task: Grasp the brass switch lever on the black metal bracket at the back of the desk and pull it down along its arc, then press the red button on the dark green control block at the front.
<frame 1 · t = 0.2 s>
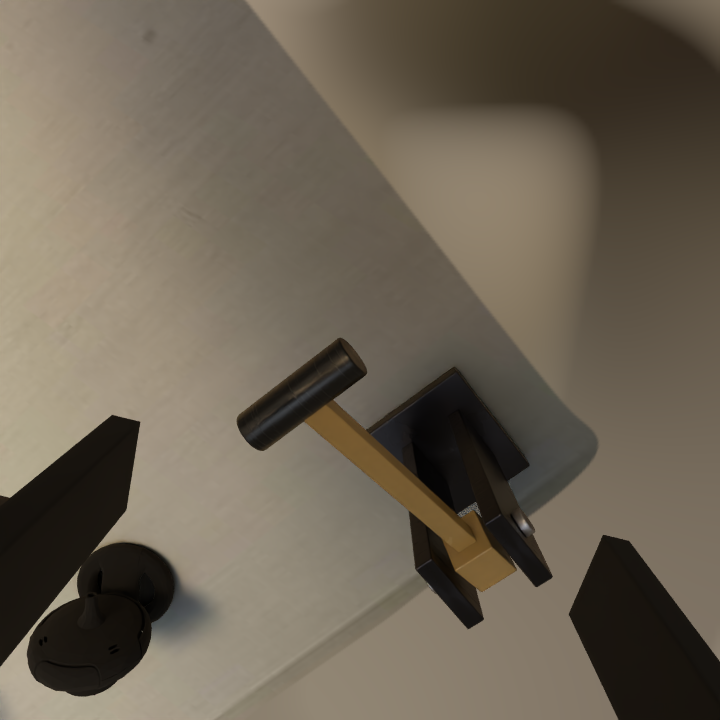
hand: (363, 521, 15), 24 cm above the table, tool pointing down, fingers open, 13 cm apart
webcam: (130, 579, 45), on the table
switch lever: (406, 488, 25), point 16 cm above the table, hinge at 22.0°
switch bracket: (445, 444, 41), on the table
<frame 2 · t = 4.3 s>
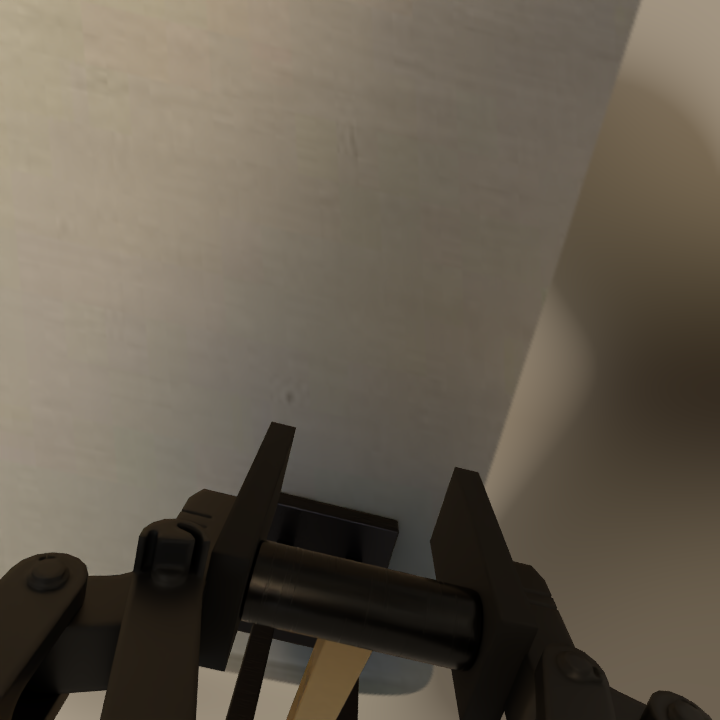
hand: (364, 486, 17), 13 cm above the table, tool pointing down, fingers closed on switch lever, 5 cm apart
switch bracket: (313, 569, 33), on the table
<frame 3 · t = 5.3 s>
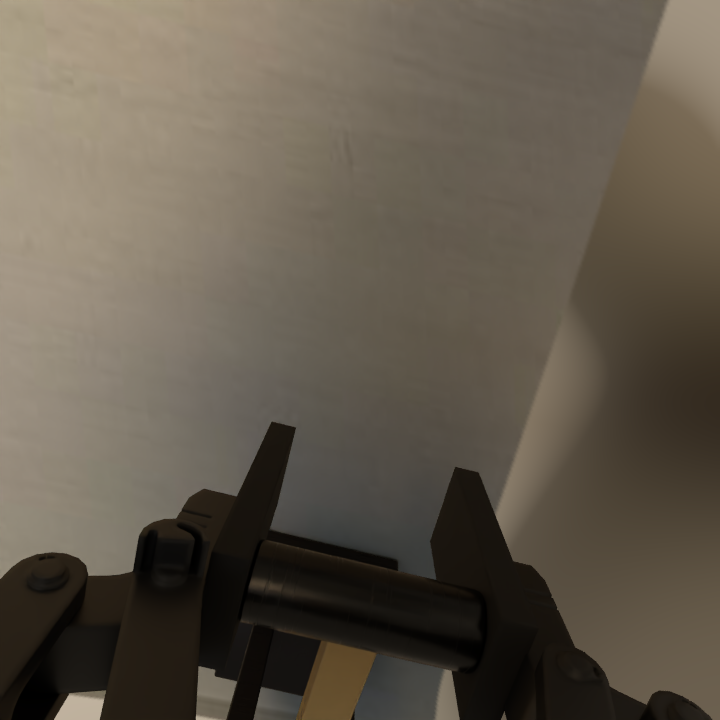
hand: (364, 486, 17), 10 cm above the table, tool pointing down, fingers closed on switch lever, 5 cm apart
switch bracket: (305, 611, 31), on the table
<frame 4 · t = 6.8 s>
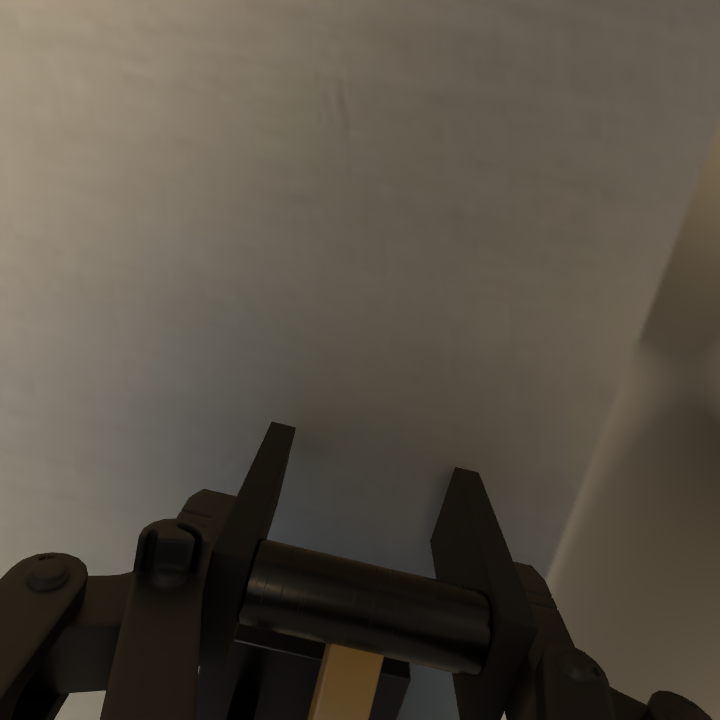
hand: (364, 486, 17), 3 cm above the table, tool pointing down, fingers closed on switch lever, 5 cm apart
switch bracket: (289, 717, 24), on the table
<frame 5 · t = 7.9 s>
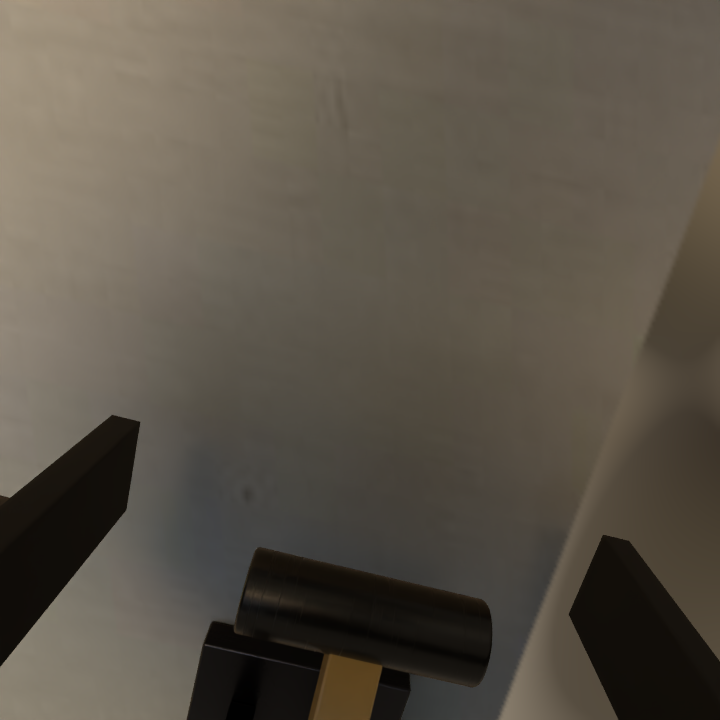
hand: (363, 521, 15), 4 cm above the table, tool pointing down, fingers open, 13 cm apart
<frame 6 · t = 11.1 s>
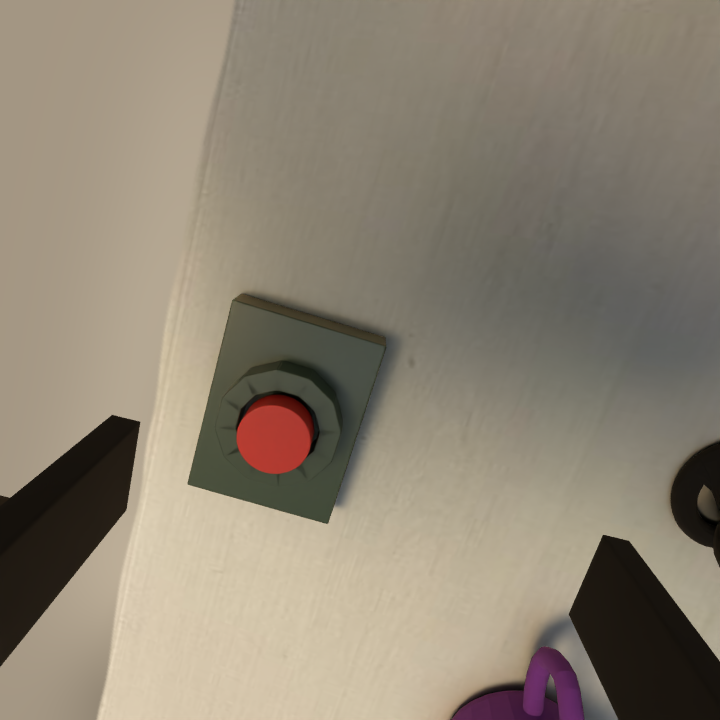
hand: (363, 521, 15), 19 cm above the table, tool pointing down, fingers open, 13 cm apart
mug: (515, 702, 41), on the table
red button: (276, 433, 31), point 4 cm above the table, slide at 0.1 cm
button block: (288, 405, 35), on the table
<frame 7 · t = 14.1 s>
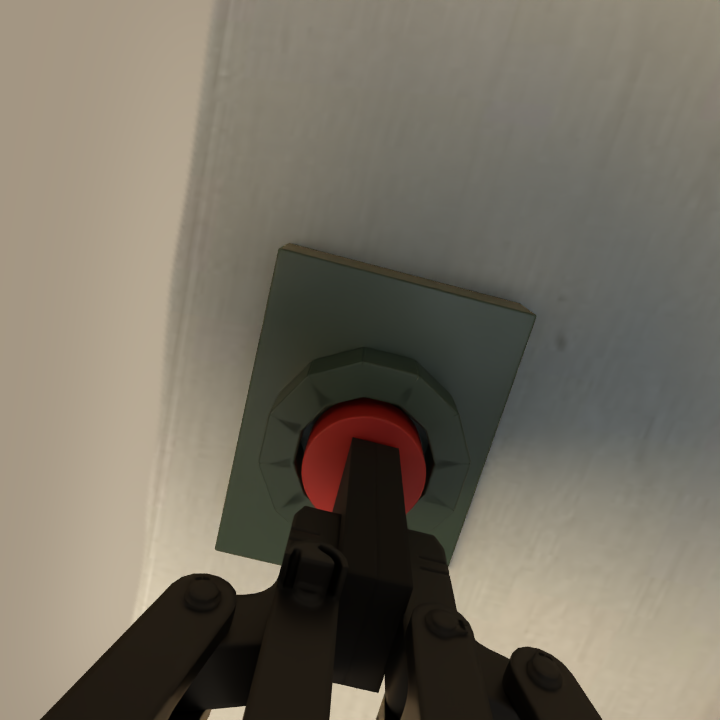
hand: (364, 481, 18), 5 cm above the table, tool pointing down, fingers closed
red button: (363, 462, 19), point 4 cm above the table, slide at -0.5 cm, touching gripper
button block: (365, 418, 22), on the table
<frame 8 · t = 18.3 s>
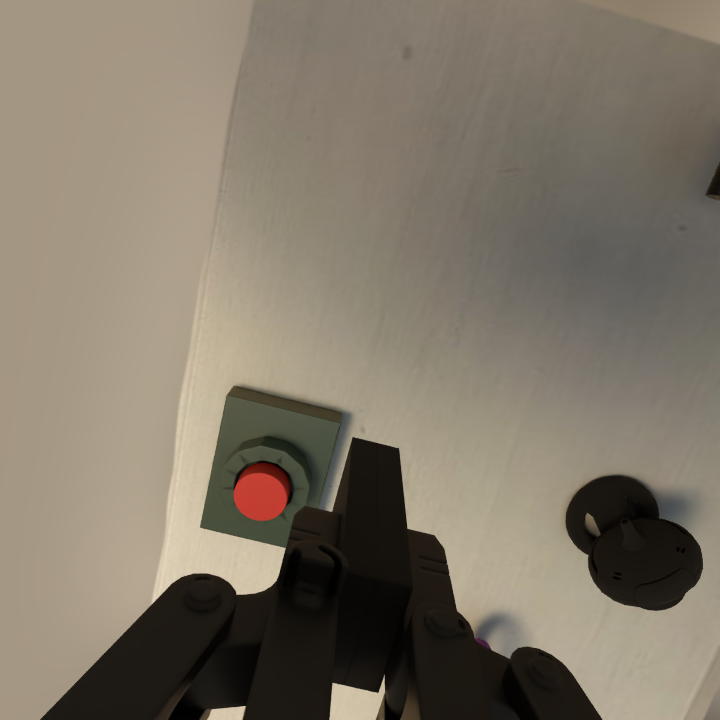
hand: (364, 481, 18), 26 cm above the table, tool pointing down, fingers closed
webcam: (607, 513, 47), on the table
red button: (262, 491, 42), point 4 cm above the table, slide at 0.1 cm
button block: (272, 464, 47), on the table
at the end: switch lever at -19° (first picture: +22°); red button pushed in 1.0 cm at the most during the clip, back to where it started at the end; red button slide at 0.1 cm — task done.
